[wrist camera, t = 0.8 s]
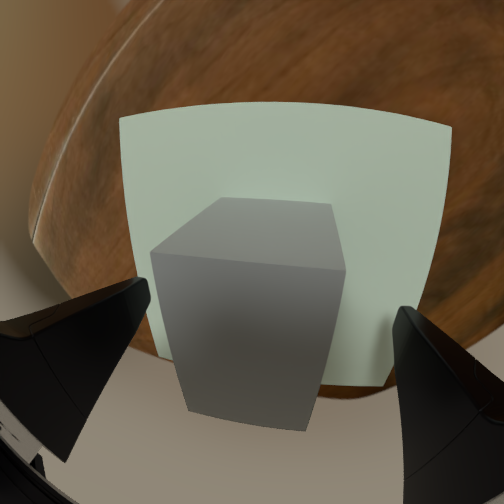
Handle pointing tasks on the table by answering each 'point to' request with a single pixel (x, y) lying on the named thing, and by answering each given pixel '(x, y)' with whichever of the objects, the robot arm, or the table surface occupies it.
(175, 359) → the lid
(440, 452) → the robot arm
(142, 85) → the table surface
